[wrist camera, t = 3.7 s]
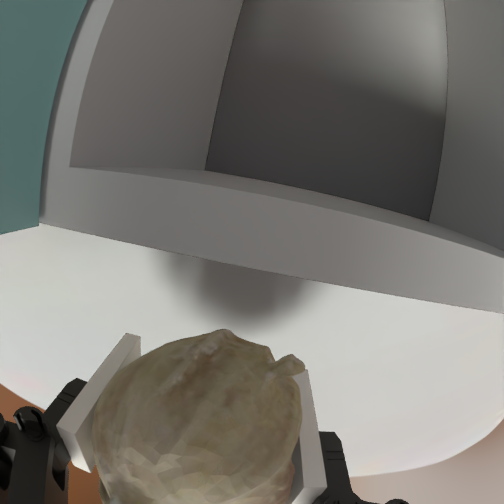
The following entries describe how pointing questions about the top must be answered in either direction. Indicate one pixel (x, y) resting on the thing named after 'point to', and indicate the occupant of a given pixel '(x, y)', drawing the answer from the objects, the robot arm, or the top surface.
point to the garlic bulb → (199, 425)
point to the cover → (29, 98)
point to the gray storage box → (257, 191)
